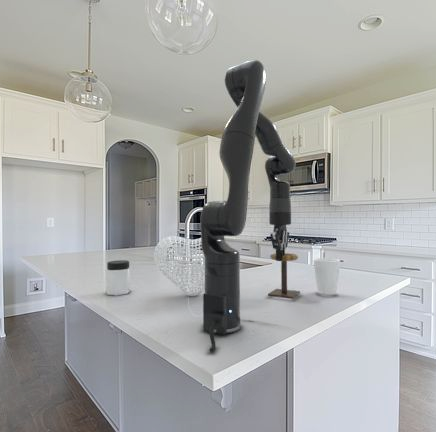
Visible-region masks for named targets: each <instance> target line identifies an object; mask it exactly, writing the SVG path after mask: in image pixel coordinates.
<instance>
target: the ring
mask: <svg viewBox="0 0 436 432" xmlns="http://www.w3.org/2000/svg"><path fill="white" fill-rule="evenodd" d="M269 256H270V257H269V258H270V259H271V260H273V261H276V252H275V253H272V254H270V255H269ZM298 259H299V256H298V255H297V254H295V253H290V252H285V256H283V260H282V261H287V262H291V261H297V260H298Z"/></svg>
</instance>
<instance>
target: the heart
mask: <svg viewBox="0 0 436 432" xmlns="http://www.w3.org/2000/svg"><path fill="white" fill-rule="evenodd" d="M225 242H226V243H227V241H226V240H225ZM174 247H175V249H174ZM178 248H179V249H178ZM191 251H193V252H191ZM174 252H175V253H174ZM201 253H202V255H201ZM191 255H192V256H191ZM194 255H195V256H194ZM153 258H154V263H155V265H156V267H157V268H158V270H159V271H160V272H161V273H162V274H163V276H164V277H165V278H167V279H168V280H169V281H171V283H173V284H174V285H175V286H176V287H177V288H179V290H180V291H182V292H183V293H184V294H185V295H187V296H189V297H195V296H198V295H199V294H200V293H202V292H203V291H205V258H204V254H203V251H202V241H201V237H199V238H196V239H191V238H190V239H189V238H187V237H186V238H185V237H182V236H178V235H169V236H166V237H164V238H162V239H161V240H160V241H158V242H157V244H156V245H155V248H154V251H153ZM187 259H188V260H187ZM191 259H192V260H191ZM198 259H199V260H198Z"/></svg>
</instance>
